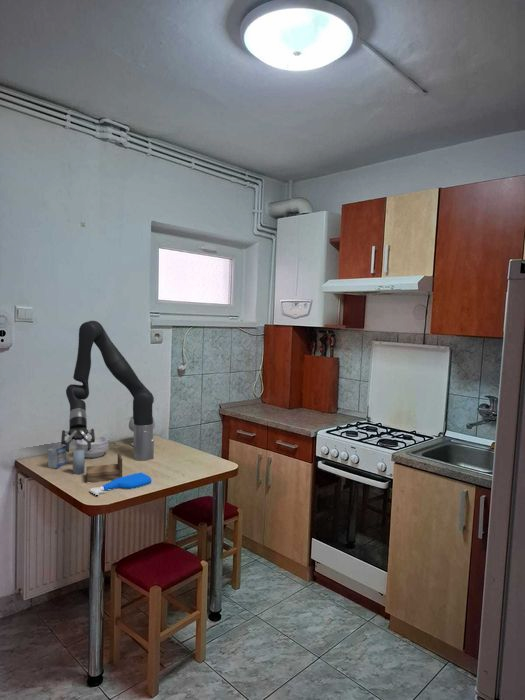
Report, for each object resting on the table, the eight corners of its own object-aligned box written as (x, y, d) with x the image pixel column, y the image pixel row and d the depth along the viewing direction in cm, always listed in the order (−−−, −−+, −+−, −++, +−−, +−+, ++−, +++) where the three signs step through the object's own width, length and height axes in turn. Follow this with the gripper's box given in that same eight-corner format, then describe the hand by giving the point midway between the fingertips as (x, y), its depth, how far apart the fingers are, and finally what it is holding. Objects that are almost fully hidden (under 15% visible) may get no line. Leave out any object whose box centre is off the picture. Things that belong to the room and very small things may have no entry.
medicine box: (56, 468, 216) (56, 449, 215) (47, 467, 217) (47, 449, 216) (66, 463, 224) (66, 445, 223) (58, 462, 225) (58, 444, 224)
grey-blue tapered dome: (84, 470, 214) (84, 448, 213) (84, 473, 210) (84, 451, 209) (73, 471, 212) (73, 449, 211) (73, 475, 208) (73, 452, 207)
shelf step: (119, 472, 213) (119, 452, 212) (122, 479, 203) (122, 459, 203) (86, 475, 207) (86, 455, 207) (87, 483, 198) (87, 462, 198)
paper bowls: (71, 454, 238) (71, 439, 238) (101, 449, 248) (101, 434, 248) (83, 461, 227) (82, 445, 226) (113, 456, 237) (113, 440, 236)
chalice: (129, 448, 251) (129, 420, 250) (127, 441, 265) (127, 415, 264) (156, 446, 256) (156, 419, 255) (153, 440, 269) (153, 414, 268)
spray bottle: (140, 471, 207) (85, 485, 190) (153, 477, 199) (98, 492, 182) (140, 477, 207) (85, 492, 190) (153, 484, 200) (98, 500, 182)
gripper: (61, 416, 218) (61, 447, 208) (94, 415, 223) (95, 445, 214) (61, 425, 223) (61, 456, 213) (93, 423, 229) (94, 453, 219)
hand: (78, 450), depth 214 cm, fingers open, 8 cm apart
